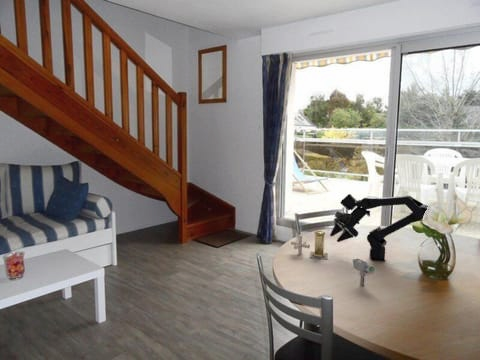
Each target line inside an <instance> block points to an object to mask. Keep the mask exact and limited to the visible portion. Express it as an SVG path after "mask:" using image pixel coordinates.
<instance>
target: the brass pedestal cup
mask: <svg viewBox="0 0 480 360" xmlns="http://www.w3.org/2000/svg"><path fill="white" fill-rule="evenodd" d="M325 235H326V232H325V231H323V230H315V231H314V251H312V252H313V256H315V257H325V253H326V252H324V248H325Z"/></svg>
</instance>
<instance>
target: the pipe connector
mask: <svg viewBox="0 0 480 360" xmlns="http://www.w3.org/2000/svg"><path fill="white" fill-rule="evenodd" d="M290 245H292V246H293V248H294V250H298V251H297V252H298V253H297V254H298V256H301V255H302V254H303V248H305V249H310V248H311V245H310V244H308V243H307V241H306V240H303V234H298V240H297V241H293V240H291V241H290Z"/></svg>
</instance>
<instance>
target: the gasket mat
mask: <svg viewBox="0 0 480 360" xmlns="http://www.w3.org/2000/svg"><path fill="white" fill-rule="evenodd" d="M313 252H314V251H310V255H309V259H314V258H315V260H316V259H317V260H329V258H328V257H329V253H328V252H324V253H325V257H315V256H313Z"/></svg>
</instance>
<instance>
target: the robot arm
mask: <svg viewBox="0 0 480 360" xmlns="http://www.w3.org/2000/svg"><path fill="white" fill-rule="evenodd" d="M340 205H341V206H343V207H344V208H345V209H346V210H347V211H351V212H350V213H349V212H348V213H346V212H341V211H338V210H337V211H336V213H335V214H334V217H335V218H333V225H334V226H333V228H332V230H331V232H330V234H329V237H334V236H335V235H337V234H339V233H341V232H342V231H343V232H342V233H341V234H340V235H339V237H338V238H337V240H336V242H337V243H340V242H342V241H346V240H349V239H353V238H356V237H358V236H359V231H358V230H357V229H356V228H355V226H356V225H359V224H360V221H361V220H362V219H363V218H364V217H365V216H367V217H371V209H375V208H378V207H385V206H404V205H405V206H406V207H407V208H408V209H409V210H410V211H411V212H410V214H408V215H406V216H403V217H402V218H400V219H399V220H397V221H395V222H393V223H391V224H389V225H387V226H386V227H382V228H381V226H377V227H376V228H375V229H372V230H370V231H369V232H368V234H367V236H366V241H367V243H369V246H370V248H369V259H370V260H371V261H378V262H386V259H385V257H386V247H385V246H386V245H387V242H388V241H387V240H386V239H385V238H386V237H387V236H389V235H391V234H393V233H395V232H397V231H399V230H401V229H403V228H405V227H406V226H408V225H410V224H413V223H417V222H421V221H422V220H421V219H422V218H423V215H424V213H425V211H426V210H427V207H428V206H429V205H427V204H424V203H422V202H421V201H419V200H418V199H415V198H414V197H413V196H411V195H410V194H408V195H401V196H399V195H398V196H388V197H387V196H386V197H378V196H370V195H369V196H366V197H363V198H362V199H358V200H357V199H356V198H355V197H354V196H353V195H352V194H351V193H348V194H347V195H346V196H345V197H344V198H342V199H341V201H340Z"/></svg>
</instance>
